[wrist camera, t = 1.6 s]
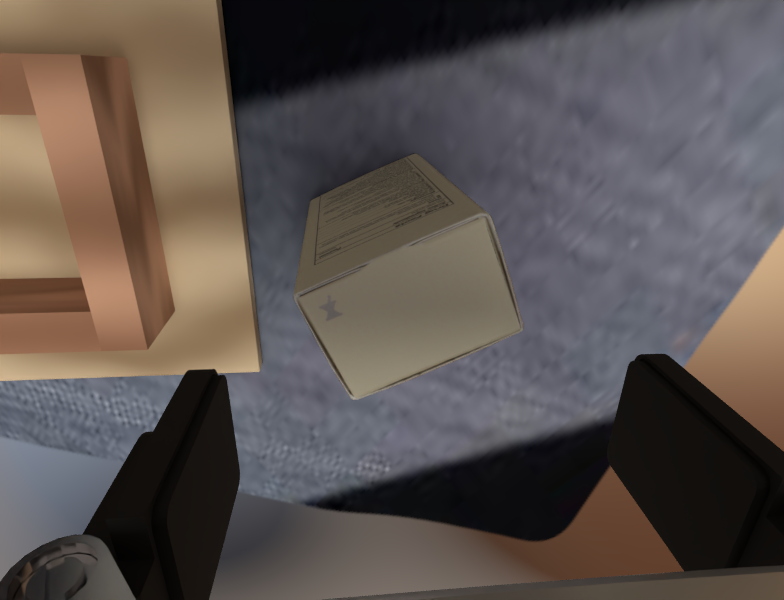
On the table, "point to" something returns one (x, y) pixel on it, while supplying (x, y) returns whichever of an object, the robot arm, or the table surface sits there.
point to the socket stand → (120, 193)
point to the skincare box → (401, 277)
